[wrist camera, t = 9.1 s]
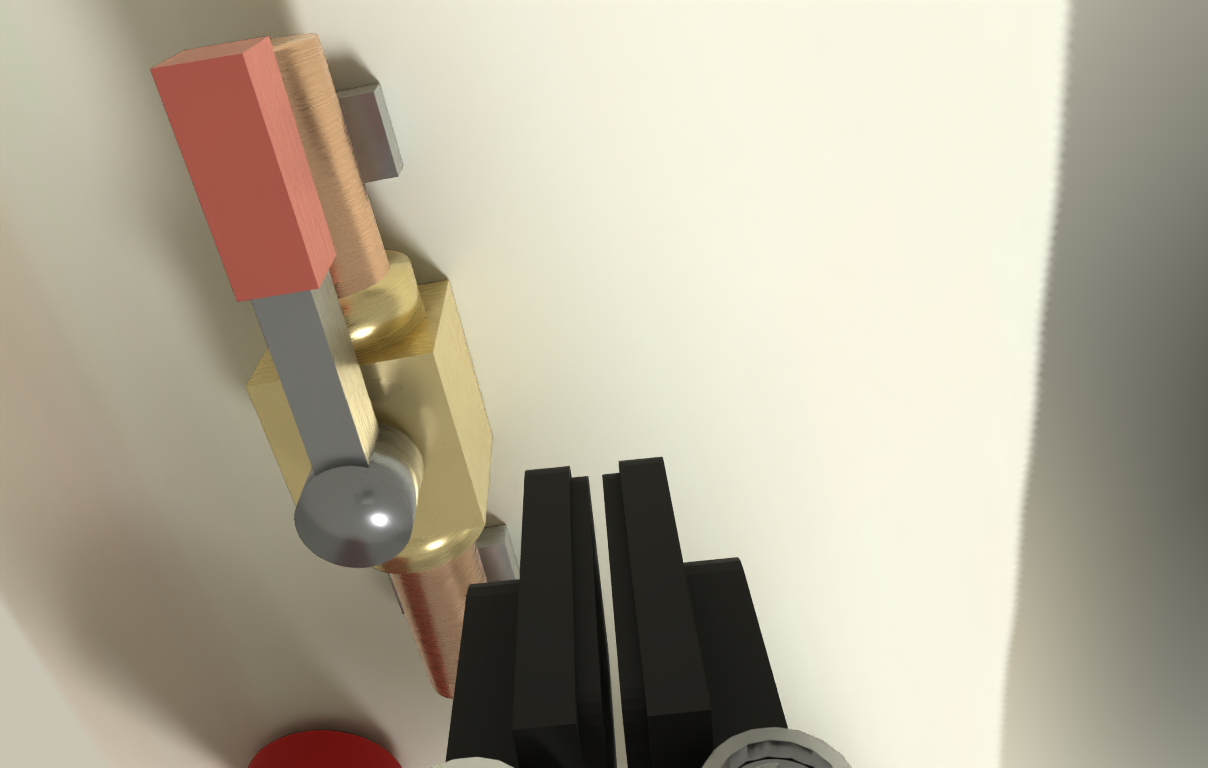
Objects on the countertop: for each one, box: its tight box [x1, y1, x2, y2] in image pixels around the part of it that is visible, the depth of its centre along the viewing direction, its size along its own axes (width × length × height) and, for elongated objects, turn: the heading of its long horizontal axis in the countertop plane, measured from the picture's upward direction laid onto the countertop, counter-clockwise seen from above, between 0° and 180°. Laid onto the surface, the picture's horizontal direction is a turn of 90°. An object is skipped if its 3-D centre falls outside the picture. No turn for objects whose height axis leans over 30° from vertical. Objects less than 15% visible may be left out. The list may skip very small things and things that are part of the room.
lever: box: [150, 36, 423, 568], centre depth 23 cm, size 13×3×3 cm, turn 9°
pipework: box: [246, 33, 520, 699], centre depth 29 cm, size 22×5×5 cm, turn 10°
